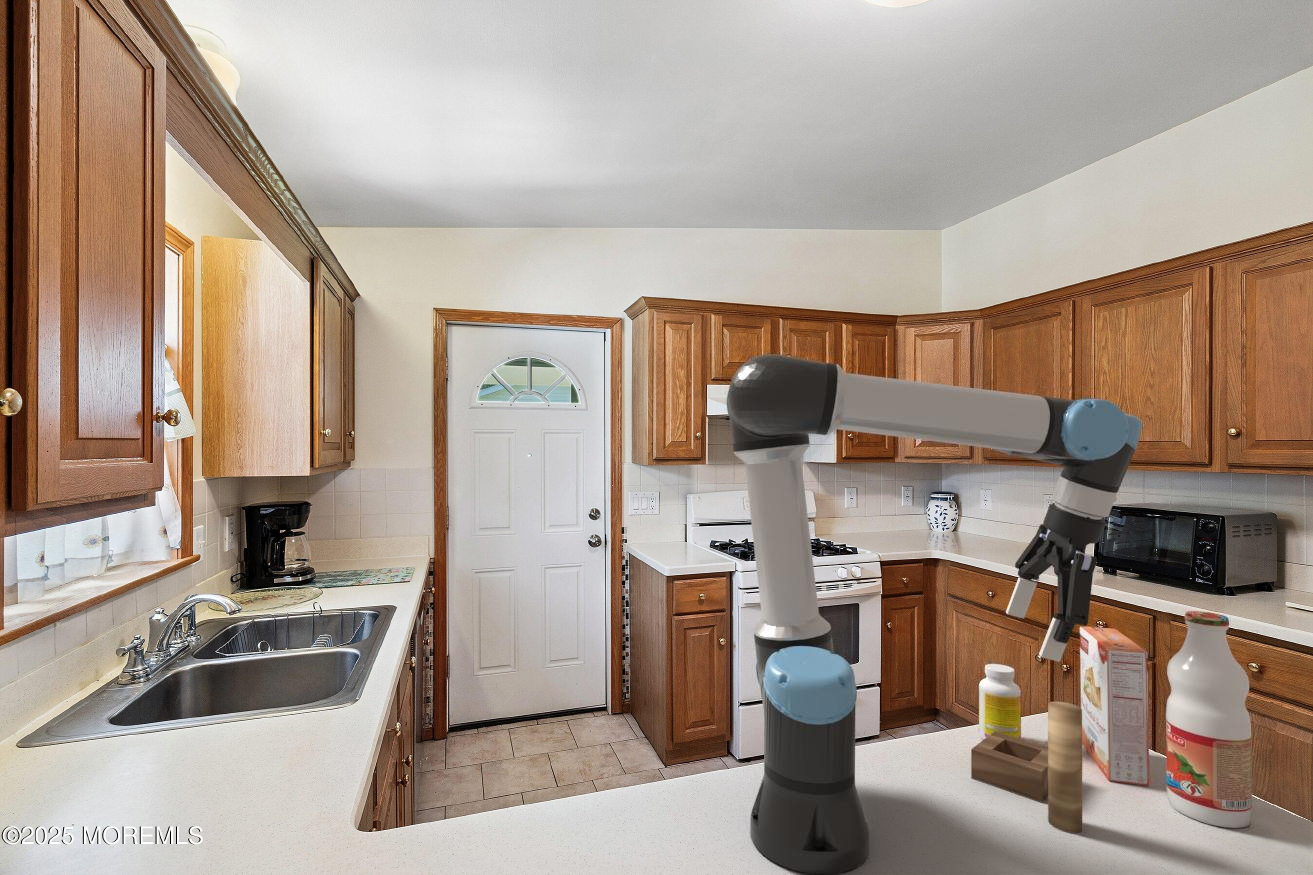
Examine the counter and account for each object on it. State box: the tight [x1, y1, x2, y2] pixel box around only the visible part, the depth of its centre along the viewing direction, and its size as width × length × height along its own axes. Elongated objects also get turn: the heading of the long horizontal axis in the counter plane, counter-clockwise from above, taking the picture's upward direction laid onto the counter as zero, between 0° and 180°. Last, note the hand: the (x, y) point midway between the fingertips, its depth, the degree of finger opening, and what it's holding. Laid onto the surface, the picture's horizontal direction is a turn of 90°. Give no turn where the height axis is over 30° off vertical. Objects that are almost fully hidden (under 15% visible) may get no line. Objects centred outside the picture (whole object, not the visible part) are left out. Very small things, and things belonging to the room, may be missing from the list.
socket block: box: [970, 731, 1048, 804], centre depth 104 cm, size 10×10×4 cm
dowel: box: [1047, 701, 1083, 834], centre depth 92 cm, size 4×4×16 cm
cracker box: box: [1079, 625, 1151, 787], centre depth 110 cm, size 14×6×21 cm, turn 162°
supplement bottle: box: [978, 663, 1022, 741], centre depth 118 cm, size 7×7×13 cm
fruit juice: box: [1165, 610, 1253, 829], centre depth 96 cm, size 9×9×28 cm
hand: (1030, 635), depth 105 cm, fingers open, 13 cm apart
